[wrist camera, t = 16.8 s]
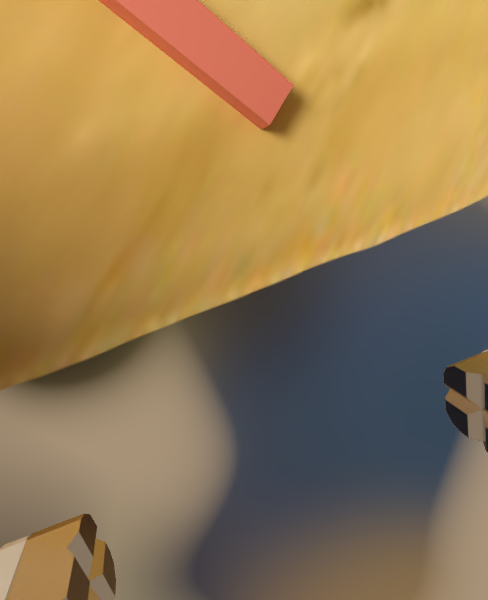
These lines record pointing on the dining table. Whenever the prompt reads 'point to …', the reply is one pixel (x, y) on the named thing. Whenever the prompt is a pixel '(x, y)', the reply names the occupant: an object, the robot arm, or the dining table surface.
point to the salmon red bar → (209, 53)
